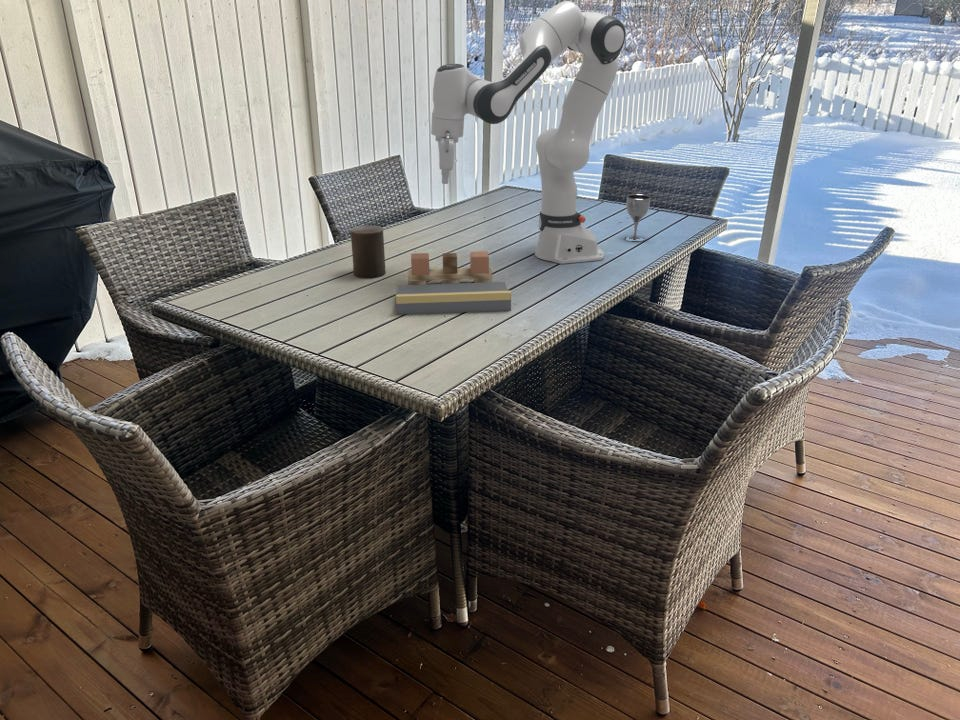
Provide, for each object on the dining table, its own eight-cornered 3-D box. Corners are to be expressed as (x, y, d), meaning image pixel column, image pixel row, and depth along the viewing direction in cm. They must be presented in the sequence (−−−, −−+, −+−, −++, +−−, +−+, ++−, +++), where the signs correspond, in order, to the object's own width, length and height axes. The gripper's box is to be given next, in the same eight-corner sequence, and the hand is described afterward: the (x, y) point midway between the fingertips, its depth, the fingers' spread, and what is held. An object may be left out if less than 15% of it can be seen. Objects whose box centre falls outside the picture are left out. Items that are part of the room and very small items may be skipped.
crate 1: (429, 269, 197) (428, 253, 194) (429, 275, 192) (428, 258, 190) (412, 270, 196) (411, 253, 194) (411, 275, 192) (411, 258, 190)
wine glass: (621, 241, 236) (625, 198, 230) (625, 235, 243) (629, 193, 236) (644, 243, 234) (648, 200, 227) (647, 237, 240) (652, 195, 234)
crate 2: (487, 267, 198) (487, 251, 196) (488, 273, 193) (488, 256, 191) (470, 268, 198) (470, 251, 195) (471, 273, 193) (471, 257, 191)
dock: (504, 292, 191) (504, 275, 189) (510, 310, 179) (511, 292, 176) (398, 295, 189) (397, 278, 187) (396, 314, 176) (395, 296, 174)
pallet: (490, 280, 200) (490, 251, 196) (492, 286, 195) (492, 256, 191) (409, 283, 198) (407, 253, 194) (409, 289, 193) (407, 259, 189)
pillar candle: (371, 280, 200) (368, 230, 194) (347, 274, 205) (343, 225, 199) (392, 271, 208) (389, 223, 201) (368, 266, 212) (364, 219, 206)
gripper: (460, 136, 176) (456, 189, 182) (457, 123, 194) (454, 172, 200) (435, 134, 175) (433, 187, 182) (435, 121, 193) (433, 170, 200)
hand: (444, 179), depth 191 cm, fingers open, 8 cm apart
